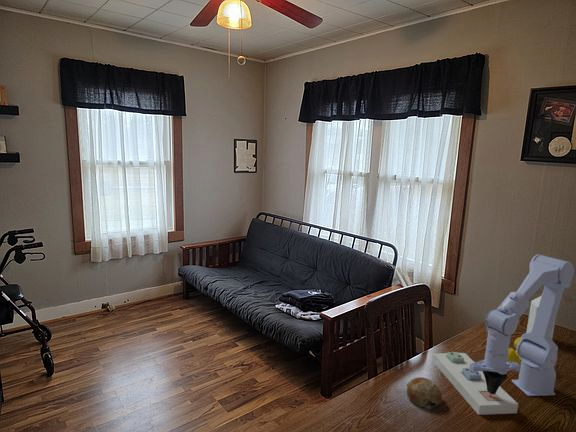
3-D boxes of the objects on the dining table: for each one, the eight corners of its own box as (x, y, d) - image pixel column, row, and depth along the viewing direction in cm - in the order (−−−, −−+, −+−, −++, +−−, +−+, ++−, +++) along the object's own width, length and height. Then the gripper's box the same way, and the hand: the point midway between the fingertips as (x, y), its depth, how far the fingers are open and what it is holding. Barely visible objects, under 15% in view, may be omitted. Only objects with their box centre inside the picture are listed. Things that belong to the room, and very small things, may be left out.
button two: (457, 358, 134) (457, 351, 134) (463, 364, 130) (464, 357, 130) (446, 358, 134) (447, 351, 134) (452, 364, 130) (453, 357, 130)
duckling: (523, 357, 140) (527, 332, 139) (536, 365, 135) (540, 340, 134) (499, 361, 137) (503, 336, 135) (512, 370, 132) (516, 343, 130)
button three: (473, 374, 125) (474, 367, 124) (480, 381, 121) (481, 374, 120) (461, 374, 124) (462, 367, 124) (468, 382, 120) (469, 374, 120)
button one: (491, 398, 115) (492, 391, 115) (499, 407, 111) (501, 399, 111) (479, 399, 115) (480, 391, 114) (487, 408, 111) (488, 400, 110)
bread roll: (413, 418, 111) (422, 404, 107) (397, 386, 119) (405, 371, 115) (441, 413, 114) (451, 399, 110) (424, 381, 122) (433, 367, 118)
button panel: (463, 360, 137) (464, 352, 137) (516, 413, 110) (518, 404, 109) (432, 361, 136) (433, 353, 135) (478, 414, 108) (479, 405, 108)
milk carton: (531, 342, 153) (538, 298, 149) (525, 334, 159) (532, 291, 156) (551, 345, 151) (558, 300, 147) (545, 337, 157) (552, 294, 154)
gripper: (481, 358, 105) (476, 402, 108) (529, 357, 107) (523, 400, 109) (467, 345, 112) (462, 386, 115) (512, 344, 114) (506, 385, 116)
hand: (491, 392), depth 112 cm, fingers closed
